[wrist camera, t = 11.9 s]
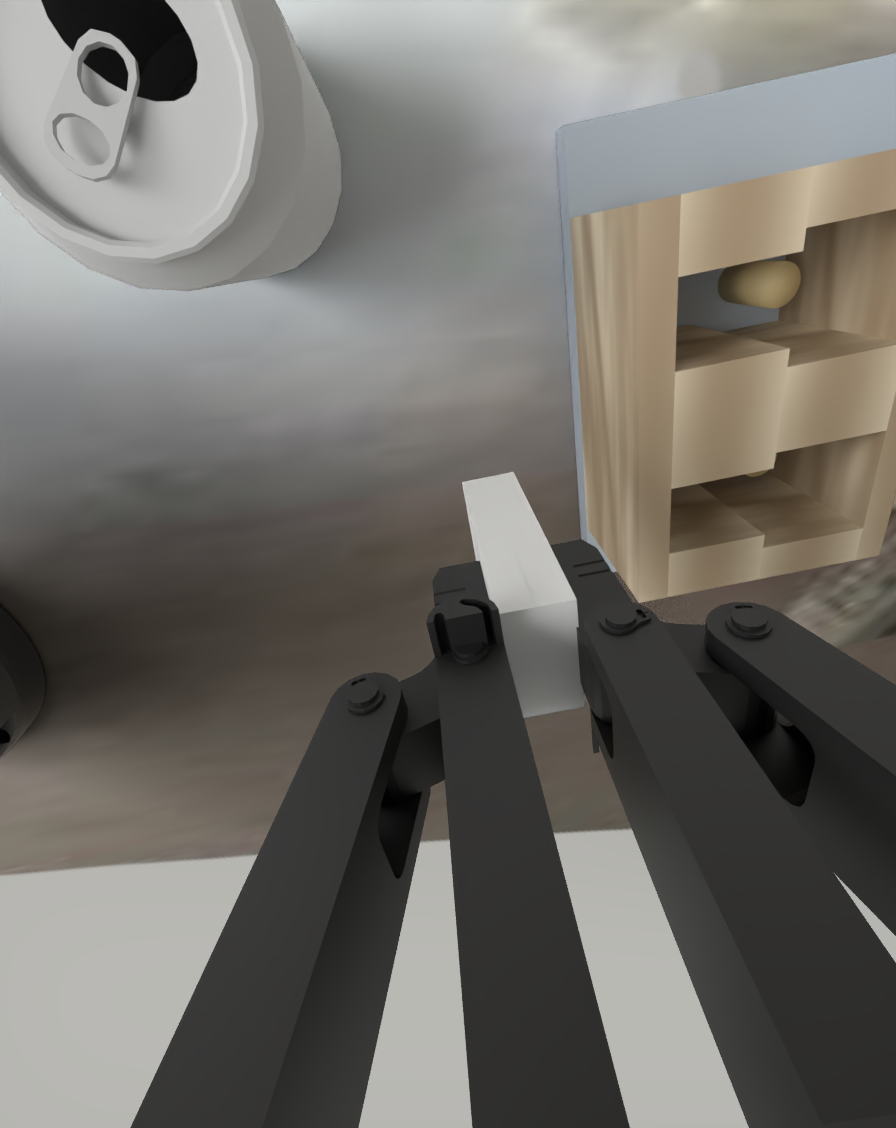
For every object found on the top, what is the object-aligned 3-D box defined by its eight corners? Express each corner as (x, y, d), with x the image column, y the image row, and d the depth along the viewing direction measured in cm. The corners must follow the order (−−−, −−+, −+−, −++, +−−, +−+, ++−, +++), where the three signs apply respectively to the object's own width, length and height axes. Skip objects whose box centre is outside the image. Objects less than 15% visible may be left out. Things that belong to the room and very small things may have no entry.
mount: (583, 566, 31) (607, 607, 27) (555, 131, 21) (588, 105, 17) (824, 518, 31) (882, 553, 27) (916, 53, 20) (1027, 10, 17)
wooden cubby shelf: (587, 528, 28) (639, 602, 22) (570, 218, 21) (639, 203, 15) (775, 490, 28) (879, 555, 22) (821, 164, 21) (992, 127, 15)
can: (377, 124, 20) (357, -12, 10) (299, 312, 23) (220, 360, 13) (175, -25, 18) (-130, -407, 8) (116, 206, 21) (-160, 160, 10)
